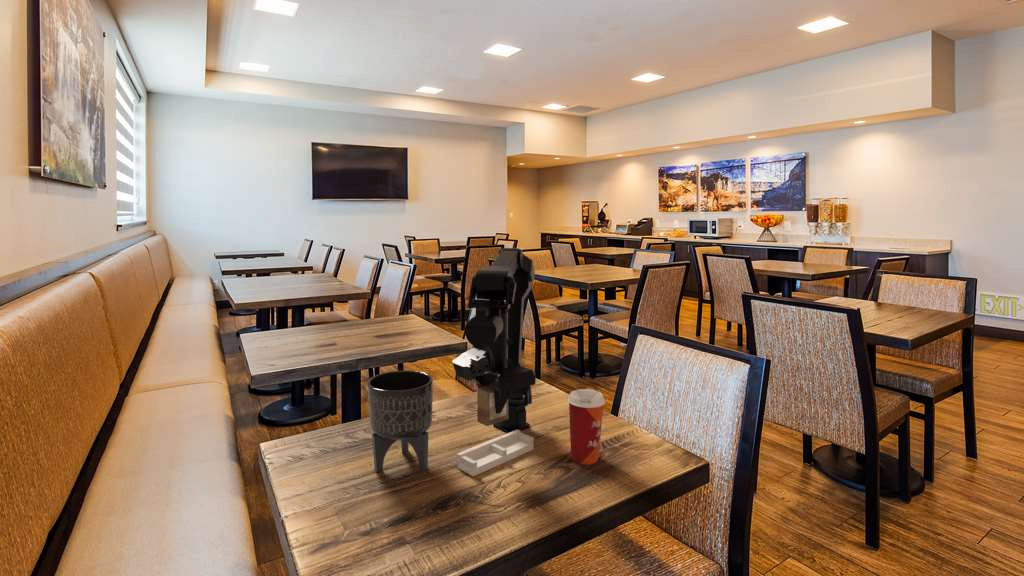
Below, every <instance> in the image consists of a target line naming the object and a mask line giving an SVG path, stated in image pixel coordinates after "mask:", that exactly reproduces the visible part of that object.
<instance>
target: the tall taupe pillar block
mask: <svg viewBox="0 0 1024 576" xmlns="http://www.w3.org/2000/svg"><path fill="white" fill-rule="evenodd" d="M476 392H477V394H476V395H477V398H476V399H477V401H476V402H477V403H476V404H477V405H476V406H477V409H476V410H477V418H476V419H477V421H476V422H477V423H480V424H481V425H483V426H485V427H489V426H493V424H496V423H498V422H501V421H504V420H507V419H508V400H507V402H506V404H505V406H504V408H503V410H502V412H501V413H499V414H497V413H496V409H495V397H494V389H493V388H492V387H491V386H490V385H486V386H482V387H479V388H478V387H477V391H476Z"/></svg>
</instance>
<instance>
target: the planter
mask: <svg viewBox="0 0 1024 576" xmlns="http://www.w3.org/2000/svg"><path fill="white" fill-rule="evenodd" d="M366 389H367V400H368V401H367V403H368V412H369V413H368V414H369V423H370V424H369V425H370V430H371V431H372V432H373V433H371V441H372V452H373V462H374V463H373V464H374V471H375V472H376V473H380V472H383V470H384V469H383V468H384V461H385V459H386V454H387V452H388V450H389V449H390V448H391V447H392V445H393V444H395V442H397V441H400V443H401V454H409V450H410V449H409V448H410V446H411V447H412V449H413V450H414V452H415V455H416V458H417V462H418V469H419V471H422V472H423V471H424V472H425V471H426V470H427V469H428V467H429V460H428V459H429V432H428V430H429V429H430V427H431V426H432V423H433V398H434V397H433V396H434V395H433V393H434V379H433V377H432V375H430V374H428V373H426V372H423V371H418V370H393V371H392V370H391V371H387V372H382V373H378V374H376V375H373V376H372V377H370V378H369V379H368V380H367V382H366ZM409 445H410V446H409Z"/></svg>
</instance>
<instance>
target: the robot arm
mask: <svg viewBox="0 0 1024 576" xmlns="http://www.w3.org/2000/svg"><path fill="white" fill-rule="evenodd" d="M534 281H535V265H534V262H533V259H532V258H530V257H528V256H527V255H525V254H524V251H523V249H521V248H519V247H517V248H516V247H502V248H499V250H498V255H497V257H496V258H495V260H494V261H493V263H491V265H490V266H485V267H481V268H479V269H478V270H476V272H475V274H474V275H473V276H472V279H471V285H470V290H469V297H468V302H467V308H468V309H475V313H474V314H475V315H474V316H473V317H471V318H470V319H469V321H468V322H467V323H466V324H465V325H466V326H465V327H464V335H465V338H466V340H467V341H468V342H469V343H470V345H471V346H472V347H471V349H468V350H466V351H465V352H462V353H457V354H456V356H455V357H454V358H453V360H452V361H451V363H452V366H453V368H454V372H455V373H456V376H457V377H459V378H463V379H465V380H466V381H469V382H470V381H473V382H475V384H476V386H477V388H479V387H482V386H486V385H490V386H491V387H492V388H493V389H494V397H495V409H496V413H497V414H499V413H501V412H502V410H503V408H504V406H505V404H506V402H507V400H508V419H507V420H504V421H501V422H498V423H496V424H493V425H492V426H493V427H495V428H497V429H499V430H501V431H504V432H507V433H510V432H512V431H514V430H517V429H518V430H520V431H522V430H524V429H526V428H530V426H531V424H530V423H528V422H527V410H526V407H528V405H531V404H532V403H533V393H532V392H533V391H532V386H535V385H536V376H537V375H536V374H537V373H536V372H535V371H534V370H533V369H530V368H528V367H525V366H524V365H523V363H522V345H523V343H522V341H523V328H524V327H523V323H524V305H525V299H526V298H527V297H528V295H529V293H530V291H532V283H533V282H534Z"/></svg>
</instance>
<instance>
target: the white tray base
mask: <svg viewBox="0 0 1024 576" xmlns="http://www.w3.org/2000/svg"><path fill="white" fill-rule="evenodd" d="M534 443H535V442H534V437H532V436H531V435H529V434H526V433H525V432H524V433H523V432H521V430H518V429H517V430H514V431H512V432H510V433H508V432H507V433H504V434H502V435H500V436H497V437H495V438H493V439H490V440H488V441H484V442H482V443H480V444H477V445H475V446H473V447H470V448H466V449H465V450H463V451H460V452H457V453H456V468H457V469H459V470H461V471H463V472H464V473H466V474H468V475H469V476H471V477H475V476H478V475H480V474H482V473H484V472H486V471H489V470H491V469H492V468H495V467H498V466H500V465H502V464H504V463H507V462H509V461H512V460H513V459H515V458H518V457H520V456H522V455H525V454H526V453H528V452H531V451H533V450H534Z"/></svg>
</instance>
